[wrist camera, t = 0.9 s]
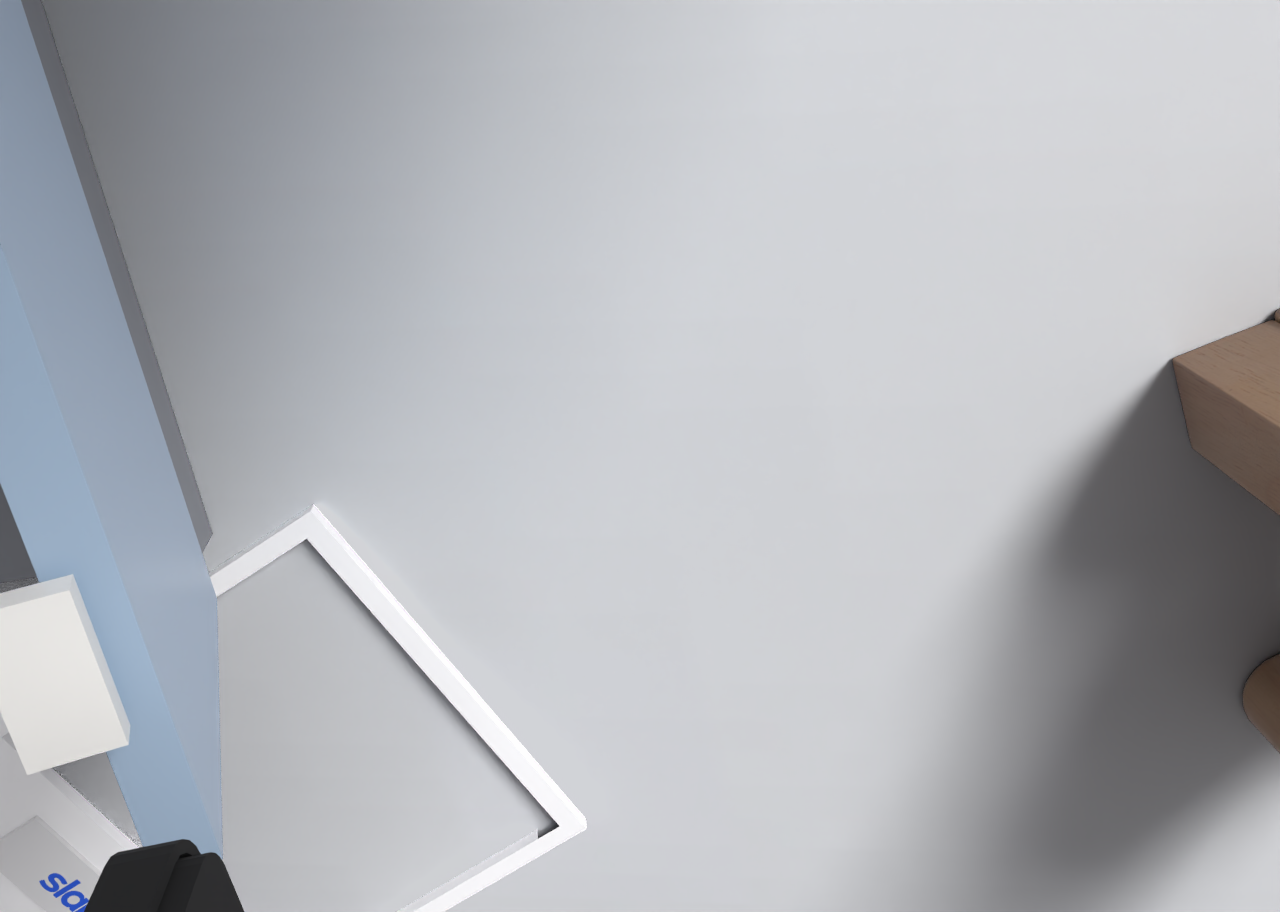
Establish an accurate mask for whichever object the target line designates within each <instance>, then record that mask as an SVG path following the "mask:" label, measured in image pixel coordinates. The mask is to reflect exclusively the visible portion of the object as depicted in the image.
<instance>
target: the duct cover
mask: <svg viewBox="0 0 1280 912" xmlns="http://www.w3.org/2000/svg"><path fill="white" fill-rule="evenodd" d="M0 484H1V486H2V489H3V491H4V494H5V496H6V499H7V501H8V504H9V507H10V509H11V512H12V514H13V517H14V519H15V522H16V524H17V527H18V529H19V532H20V534H21V537H22V540H23V542H24V545H25V547H26V550H27V552H28V555H29V557H30V560H31V562H32V565H33V568H34V570H35V573H36V575H37V578H38V580H39V583H37V584H33V585H29V586H26V587H22V588H18V589H14V590H10V591H7V592H3V593H0V713H1V715H2V717H3V720H4V722H5V724H6V726H7V729H8V731H9V733H10V736H11V738H12V740H13V743H14V745H15V747H16V750H17V752H18V754H19V757H20V759H21V761H22V764H23V766H24V768H25V771H26V773H27V775H29V774H33V773H36V772H39V771H43V770H46V769H49V768H53V767H56V766H59V765H63V764H66V763H70V762H73V761H76V760H80V759H83V758H86V757H90V756H93V755H96V754H100V753H103V752H106V753H107V756H108V758H109V761H110V763H111V766H112V769H113V771H114V774H115V776H116V779H117V781H118V784H119V786H120V789H121V791H122V794H123V796H124V799H125V802H126V804H127V807H128V809H129V812H130V814H131V817H132V819H133V822H134V824H135V827H136V830H137V832H138V835H139V837H140V840H141V842H142V845H143V847H146V846H151V845H156V844H161V843H166V842H170V841H175V840H180V839H186V840H190V841H191V842H193V843H194V844H195V845H196V846H197V848H198V850H199V852H200V853H201V854H204V853H209V852H213V853H216V854H217V855H218V856H220V858H221V859H223V841H222V796H221V751H220V707H219V662H218V618H217V597H216V594H215V591H214V588H213V585H212V582H211V579H210V576H209V573H208V570H207V566H206V563H205V560H204V557H203V554H202V551H201V548H200V545H199V542H198V539H197V536H196V533H195V530H194V527H193V524H192V521H191V518H190V515H189V512H188V509H187V505H186V502H185V499H184V496H183V493H182V490H181V487H180V484H179V481H178V478H177V475H176V472H175V469H174V466H173V463H172V460H171V457H170V454H169V451H168V448H167V444H166V441H165V438H164V435H163V432H162V429H161V426H160V423H159V420H158V417H157V414H156V411H155V408H154V405H153V402H152V399H151V396H150V393H149V390H148V387H147V383H146V380H145V377H144V374H143V371H142V368H141V365H140V362H139V359H138V356H137V353H136V350H135V347H134V344H133V341H132V338H131V335H130V332H129V329H128V326H127V322H126V319H125V316H124V313H123V310H122V307H121V304H120V301H119V298H118V295H117V292H116V289H115V286H114V283H113V280H112V277H111V274H110V271H109V268H108V265H107V261H106V258H105V255H104V252H103V249H102V246H101V243H100V240H99V237H98V234H97V231H96V228H95V225H94V222H93V219H92V216H91V213H90V210H89V207H88V204H87V200H86V197H85V194H84V191H83V188H82V185H81V182H80V179H79V176H78V173H77V170H76V167H75V164H74V161H73V158H72V155H71V152H70V149H69V146H68V143H67V139H66V136H65V133H64V130H63V127H62V124H61V121H60V118H59V115H58V112H57V109H56V106H55V103H54V100H53V97H52V94H51V91H50V88H49V85H48V82H47V78H46V75H45V72H44V69H43V66H42V63H41V60H40V57H39V54H38V51H37V48H36V45H35V42H34V39H33V36H32V33H31V30H30V27H29V24H28V21H27V17H26V14H25V11H24V8H23V5H22V2H21V0H0Z"/></svg>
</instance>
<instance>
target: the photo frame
mask: <svg viewBox="0 0 1280 912" xmlns="http://www.w3.org/2000/svg"><path fill="white" fill-rule="evenodd" d="M305 539H307V540H308V541H309V542H310V543H311V544H312V545H313V546H314V548H315V549H316V550H317V551H318V552H319V553H320V554H321V556H322V557H323V558H324V559H325V560H326V561H327V562H328V563H329V565H330V566H331V567H332V568H333V569H334V570H335V571H336V573H337V574H338V575H339V576H340V577H341V578H342V579H343V581H344V582H345V583H346V584H347V585H348V586H349V587H350V588H351V590H352V591H353V592H354V593H355V594H356V595H357V596H358V598H359V599H360V600H361V601H362V602H363V603H364V604H365V606H366V607H367V608H368V609H369V610H370V611H371V612H372V613H373V615H374V616H375V617H376V618H377V619H378V620H379V621H380V623H381V624H382V625H383V626H384V627H385V628H386V629H387V631H388V632H389V633H390V634H391V635H392V636H393V637H394V638H395V640H396V641H397V642H398V643H399V644H400V645H401V646H402V648H403V649H404V650H405V651H406V652H407V653H408V654H409V656H410V657H411V658H412V659H413V660H414V661H415V662H416V663H417V665H418V666H419V667H420V668H421V669H422V670H423V671H424V673H425V674H426V675H427V676H428V677H429V678H430V679H431V681H432V682H433V683H434V684H435V685H436V686H437V687H438V688H439V690H440V691H441V692H442V693H443V694H444V695H445V696H446V698H447V699H448V700H449V701H450V702H451V703H452V704H453V706H454V707H455V708H456V709H457V710H458V711H459V712H460V713H461V715H462V716H463V717H464V718H465V719H466V720H467V721H468V723H469V724H470V725H471V726H472V727H473V728H474V729H475V731H476V732H477V733H478V734H479V735H480V736H481V737H482V738H483V740H484V741H485V742H486V743H487V744H488V745H489V746H490V748H491V749H492V750H493V751H494V752H495V753H496V754H497V756H498V757H499V758H500V759H501V760H502V761H503V762H504V763H505V765H506V766H507V767H508V768H509V769H510V770H511V771H512V773H513V774H514V775H515V776H516V777H517V778H518V779H519V781H520V782H521V783H522V784H523V785H524V786H525V787H526V788H527V790H528V791H529V792H530V793H531V794H532V795H533V796H534V798H535V799H536V800H537V801H538V802H539V803H540V804H541V806H542V807H543V808H544V809H545V810H546V811H547V812H548V813H549V815H550V816H551V817H552V818H553V819H554V820H555V821H556V823H557V824H558V825H559V827H558V828H556V829H554V830H552V831H551V832H549V833H547V834H546V835H544V836H542V837H540V838H539V839H538V829H537V830H535V831H533V832H532V833H530V834H528V835H527V836H525V837H523V838H521V839H520V840H518V841H516V842H515V843H513V844H511V845H509V846H508V847H506V848H504V849H503V850H501V851H499V852H497V853H496V854H494V855H492V856H491V857H489V858H487V859H485V860H484V861H482V862H480V863H479V864H477V865H475V866H473V867H472V868H470V869H468V870H467V871H465V872H463V873H462V874H460V875H458V876H456V877H455V878H453V879H451V880H450V881H448V882H446V883H444V884H443V885H441V886H439V887H438V888H436V889H434V890H432V891H431V892H429V893H427V894H426V895H424V896H422V897H420V898H419V899H417V900H415V901H414V902H412V903H410V904H408V905H407V906H405V907H403V908H402V909H400V910H398V911H396V912H444V911H446V910H448V909H450V908H451V907H453V906H455V905H456V904H458V903H460V902H462V901H463V900H465V899H467V898H468V897H470V896H472V895H474V894H475V893H477V892H479V891H481V890H482V889H484V888H486V887H487V886H489V885H491V884H493V883H494V882H496V881H498V880H500V879H501V878H503V877H505V876H506V875H508V874H510V873H512V872H513V871H515V870H517V869H518V868H520V867H522V866H524V865H525V864H527V863H529V862H531V861H532V860H534V859H536V858H537V857H539V856H541V855H543V854H544V853H546V852H548V851H549V850H551V849H553V848H555V847H556V846H558V845H560V844H562V843H563V842H565V841H567V840H568V839H570V838H572V837H574V836H575V835H577V834H579V833H581V832H582V831H584V830H586V829H587V824H586V818H585V817H584V816H583V815H582V813H581V812H580V811H579V810H578V809H577V808H576V807H575V805H574V804H573V803H572V802H571V801H570V800H569V798H568V797H567V796H566V795H565V794H564V793H563V792H562V790H561V789H560V788H559V787H558V786H557V785H556V783H555V782H554V781H553V780H552V779H551V778H550V776H549V775H548V774H547V773H546V772H545V771H544V770H543V768H542V767H541V766H540V765H539V764H538V763H537V761H536V760H535V759H534V758H533V757H532V756H531V755H530V753H529V752H528V751H527V750H526V749H525V748H524V746H523V745H522V744H521V743H520V742H519V741H518V739H517V738H516V737H515V736H514V735H513V734H512V733H511V731H510V730H509V729H508V728H507V727H506V726H505V724H504V723H503V722H502V721H501V720H500V719H499V717H498V716H497V715H496V714H495V713H494V712H493V711H492V709H491V708H490V707H489V706H488V705H487V704H486V702H485V701H484V700H483V699H482V698H481V697H480V696H479V694H478V693H477V692H476V691H475V690H474V689H473V687H472V686H471V685H470V684H469V683H468V682H467V680H466V679H465V678H464V677H463V676H462V675H461V674H460V672H459V671H458V670H457V669H456V668H455V667H454V665H453V664H452V663H451V662H450V661H449V660H448V659H447V657H446V656H445V655H444V654H443V653H442V652H441V650H440V649H439V648H438V647H437V646H436V645H435V643H434V642H433V641H432V640H431V639H430V638H429V637H428V635H427V634H426V633H425V632H424V631H423V630H422V628H421V627H420V626H419V625H418V624H417V623H416V622H415V620H414V619H413V618H412V617H411V616H410V615H409V613H408V612H407V611H406V610H405V609H404V608H403V606H402V605H401V604H400V603H399V602H398V601H397V600H396V598H395V597H394V596H393V595H392V594H391V593H390V591H389V590H388V589H387V588H386V587H385V586H384V585H383V583H382V582H381V581H380V580H379V579H378V578H377V576H376V575H375V574H374V573H373V572H372V571H371V569H370V568H369V567H368V566H367V565H366V564H365V563H364V561H363V560H362V559H361V558H360V557H359V556H358V554H357V553H356V552H355V551H354V550H353V549H352V547H351V546H350V545H349V544H348V543H347V542H346V541H345V539H344V538H343V537H342V536H341V535H340V534H339V532H338V531H337V530H336V529H335V528H334V527H333V526H332V524H331V523H330V522H329V521H328V520H327V519H326V517H325V516H324V515H323V514H322V513H321V512H320V510H319V509H318V508H317V507H316V506H315V505H314V504H313V505H311V506H309V507H308V508H306V509H305V510H303V511H302V512H300V513H299V514H297V515H296V516H294V517H293V518H291V519H290V520H288V521H287V522H285V523H284V524H282V525H280V526H279V527H277V528H276V529H274V530H273V531H271V532H270V533H268V534H267V535H265V536H264V537H262V538H261V539H259V540H258V541H256V542H254V543H253V544H251V545H250V546H248V547H247V548H245V549H244V550H242V551H241V552H239V553H238V554H236V555H235V556H233V557H232V558H230V559H228V560H227V561H225V562H224V563H222V564H221V565H219V566H218V567H216V568H215V569H213V570H212V571H210V572H209V576H210V579H211V582H212V585H213V588H214V591H215V594H216V597H218V596H219V595H221V594H222V593H224V592H225V591H227V590H229V589H230V588H232V587H233V586H235V585H236V584H238V583H239V582H241V581H242V580H244V579H245V578H247V577H249V576H250V575H252V574H253V573H255V572H256V571H258V570H259V569H261V568H262V567H264V566H265V565H267V564H269V563H270V562H272V561H273V560H275V559H276V558H278V557H279V556H281V555H282V554H284V553H285V552H287V551H289V550H290V549H292V548H293V547H295V546H296V545H298V544H299V543H301V542H302V541H304V540H305ZM136 848H139V847H138V846H136V845H135V844H134V843H133V842H132V841H131V840H130V839H129V838H128V837H127V836H126V835H124V834H123V833H122V832H121V831H120V830H119V829H118V828H117V827H116V826H115V825H114V824H112V823H111V822H110V821H109V820H108V819H107V818H106V817H105V816H104V815H103V814H102V813H100V812H99V811H98V810H97V809H96V808H95V807H94V806H93V805H92V804H91V803H90V802H88V801H87V800H86V799H85V798H84V797H83V796H82V795H81V794H80V793H79V792H78V791H76V790H75V789H74V788H73V787H72V786H71V785H70V784H69V783H68V782H67V781H66V780H64V779H63V778H62V777H61V776H60V775H59V774H58V773H57V772H56V771H55V770H54V769H52V768H49V769H46V770H43V771H39V772H36V773H33V774H29V775H27V773H26V771H25V768H24V766H23V764H22V761H21V759H20V757H19V754H18V752H17V750H16V747H15V745H14V743H13V740H12V738H11V736H10V733H9V731H8V729H7V726H6V724H5V722H4V720H3V717H2V715H1V713H0V912H84V910H85V908H86V906H87V904H88V901H89V899H90V897H91V895H92V893H93V890H94V888H95V886H96V884H97V882H98V879H99V877H100V875H101V873H102V871H103V868H104V866H105V865H106V863H107V862H108V860H109V858H110V857H111V856H112V855H114V854H116V853H117V852H121V851H126V850H131V849H136Z"/></svg>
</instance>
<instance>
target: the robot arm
mask: <svg viewBox="0 0 1280 912" xmlns="http://www.w3.org/2000/svg"><path fill="white" fill-rule="evenodd" d="M84 912H244V910H243V908H242V905H241V903H240V900H239V898H238V896H237V893H236V891H235V889H234V886H233V884H232V881H231V879H230V877H229V874H228V872H227V870H226V867H225V865H224V863H223V861H222V859H221V858H220V856H218V855H217V854H216V853H213V852H209V853H204V854H201V853H200V852H199V850H198V848H197V846H196V845H195V844H194V843H193V842H191V841H190V840H186V839H180V840H175V841H170V842H166V843H161V844H156V845H151V846H146V847H141V848H136V849H131V850H126V851H121V852H117V853H116V854H114V855H112V856H111V857H110V858H109V860H108V862H107V863H106V865H105V866H104V868H103V871H102V873H101V875H100V877H99V879H98V882H97V884H96V886H95V888H94V890H93V893H92V895H91V897H90V899H89V901H88V904H87V906H86V908H85V910H84Z"/></svg>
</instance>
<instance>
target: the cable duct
mask: <svg viewBox="0 0 1280 912" xmlns="http://www.w3.org/2000/svg"><path fill="white" fill-rule="evenodd" d="M21 2H22V5H23V8H24V11H25V14H26V17H27V21H28V24H29V27H30V30H31V33H32V36H33V39H34V42H35V45H36V48H37V51H38V54H39V57H40V60H41V63H42V66H43V69H44V72H45V75H46V78H47V82H48V85H49V88H50V91H51V94H52V97H53V100H54V103H55V106H56V109H57V112H58V115H59V118H60V121H61V124H62V127H63V130H64V133H65V136H66V139H67V143H68V146H69V149H70V152H71V155H72V158H73V161H74V164H75V167H76V170H77V173H78V176H79V179H80V182H81V185H82V188H83V191H84V194H85V197H86V200H87V204H88V207H89V210H90V213H91V216H92V219H93V222H94V225H95V228H96V231H97V234H98V237H99V240H100V243H101V246H102V249H103V252H104V255H105V258H106V261H107V265H108V268H109V271H110V274H111V277H112V280H113V283H114V286H115V289H116V292H117V295H118V298H119V301H120V304H121V307H122V310H123V313H124V316H125V319H126V322H127V326H128V329H129V332H130V335H131V338H132V341H133V344H134V347H135V350H136V353H137V356H138V359H139V362H140V365H141V368H142V371H143V374H144V377H145V380H146V383H147V387H148V390H149V393H150V396H151V399H152V402H153V405H154V408H155V411H156V414H157V417H158V420H159V423H160V426H161V429H162V432H163V435H164V438H165V441H166V444H167V448H168V451H169V454H170V457H171V460H172V463H173V466H174V469H175V472H176V475H177V478H178V481H179V484H180V487H181V490H182V493H183V496H184V499H185V502H186V505H187V509H188V512H189V515H190V518H191V521H192V524H193V527H194V530H195V533H196V536H197V539H198V542H199V545H200V548H201V551H202V552H203V551H204V549H205V547H206V545H207V543H208V541H209V539H210V538H211V536H212V534H213V533H212V530H211V527H210V524H209V521H208V518H207V515H206V512H205V508H204V505H203V502H202V499H201V496H200V493H199V490H198V487H197V484H196V480H195V477H194V474H193V471H192V468H191V465H190V462H189V459H188V456H187V452H186V449H185V446H184V443H183V440H182V437H181V434H180V431H179V428H178V424H177V421H176V418H175V415H174V412H173V409H172V406H171V403H170V400H169V396H168V393H167V390H166V387H165V384H164V381H163V378H162V375H161V372H160V368H159V365H158V362H157V359H156V356H155V353H154V350H153V347H152V344H151V340H150V337H149V334H148V331H147V328H146V325H145V322H144V319H143V316H142V313H141V309H140V306H139V303H138V300H137V297H136V294H135V291H134V288H133V285H132V281H131V278H130V275H129V272H128V269H127V266H126V263H125V260H124V257H123V253H122V250H121V247H120V244H119V241H118V238H117V235H116V232H115V229H114V225H113V222H112V219H111V216H110V213H109V210H108V207H107V204H106V201H105V197H104V194H103V191H102V188H101V185H100V182H99V179H98V176H97V173H96V169H95V166H94V163H93V160H92V157H91V154H90V151H89V148H88V145H87V141H86V138H85V135H84V132H83V129H82V126H81V123H80V120H79V117H78V113H77V110H76V107H75V104H74V101H73V98H72V95H71V92H70V89H69V86H68V82H67V79H66V76H65V73H64V70H63V67H62V64H61V61H60V58H59V54H58V51H57V48H56V45H55V42H54V39H53V36H52V33H51V30H50V26H49V23H48V20H47V17H46V14H45V11H44V8H43V5H42V2H41V0H21ZM34 577H37V575H36V573H35V570H34V568H33V565H32V562H31V560H30V557H29V555H28V552H27V550H26V547H25V545H24V542H23V540H22V537H21V534H20V532H19V529H18V527H17V524H16V522H15V519H14V517H13V514H12V512H11V509H10V507H9V504H8V501H7V499H6V496H5V494H4V491H3V489H2V486H1V484H0V583H4V582H10V581H16V580H22V579H28V578H34Z"/></svg>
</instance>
